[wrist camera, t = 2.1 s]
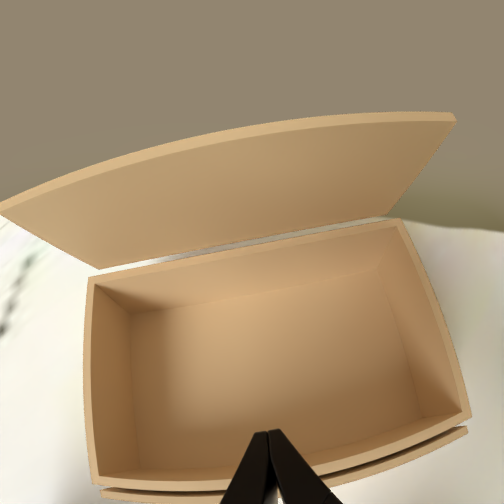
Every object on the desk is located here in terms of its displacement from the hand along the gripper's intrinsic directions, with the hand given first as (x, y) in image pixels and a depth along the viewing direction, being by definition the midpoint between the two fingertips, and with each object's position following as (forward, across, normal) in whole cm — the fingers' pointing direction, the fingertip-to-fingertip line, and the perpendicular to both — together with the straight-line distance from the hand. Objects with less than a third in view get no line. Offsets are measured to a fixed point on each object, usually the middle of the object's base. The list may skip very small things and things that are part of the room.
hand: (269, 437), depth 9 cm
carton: (+11, 0, +6) cm, 13 cm away
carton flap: (+8, 0, -7) cm, 10 cm away
